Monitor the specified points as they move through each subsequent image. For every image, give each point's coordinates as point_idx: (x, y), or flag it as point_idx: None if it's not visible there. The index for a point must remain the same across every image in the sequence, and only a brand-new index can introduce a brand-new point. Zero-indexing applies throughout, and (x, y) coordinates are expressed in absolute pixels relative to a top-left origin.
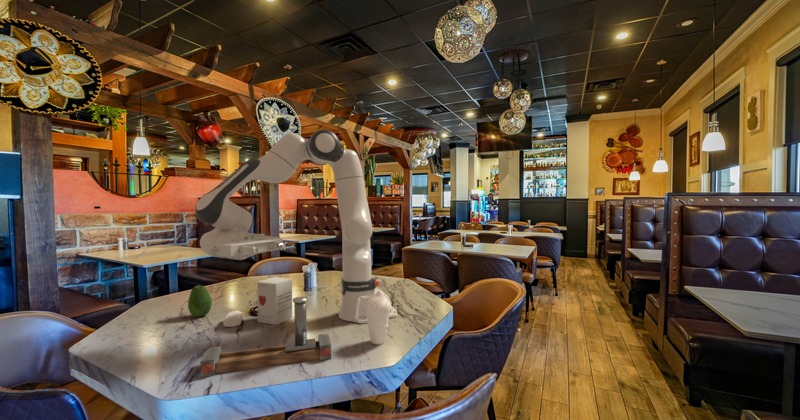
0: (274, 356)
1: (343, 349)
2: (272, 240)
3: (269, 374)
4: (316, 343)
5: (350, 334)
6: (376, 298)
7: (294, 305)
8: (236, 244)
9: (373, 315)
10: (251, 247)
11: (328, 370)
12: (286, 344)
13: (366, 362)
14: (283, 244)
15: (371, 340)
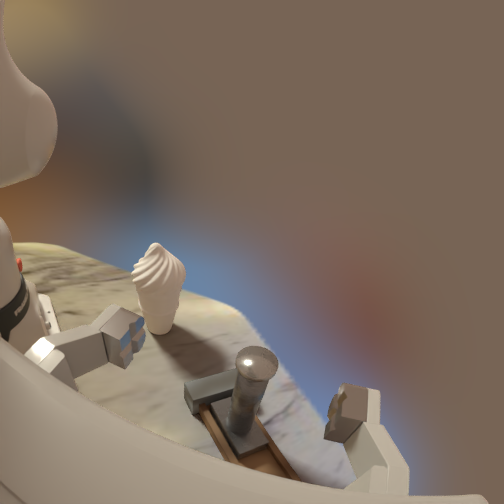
0: (285, 459)
1: (193, 372)
2: (40, 368)
3: (313, 456)
4: (206, 407)
5: (121, 368)
6: (169, 258)
7: (265, 382)
8: (443, 497)
9: (180, 287)
10: (379, 408)
11: (274, 377)
12: (251, 447)
13: (237, 335)
14: (119, 307)
15: (166, 330)
